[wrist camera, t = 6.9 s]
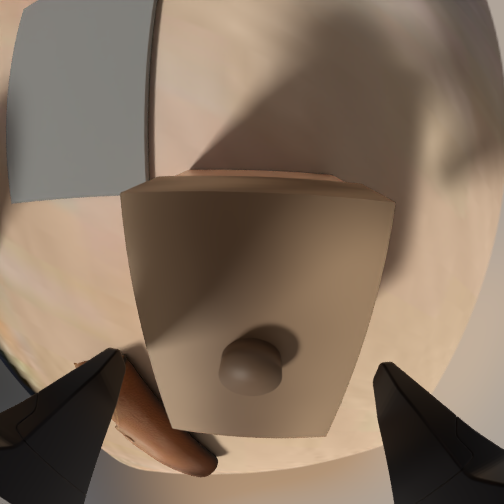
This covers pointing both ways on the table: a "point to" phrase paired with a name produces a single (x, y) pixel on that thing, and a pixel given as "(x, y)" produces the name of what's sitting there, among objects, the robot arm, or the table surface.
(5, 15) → the table surface
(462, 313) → the table surface
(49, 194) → the mat
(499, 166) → the table surface
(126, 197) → the lid
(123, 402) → the sunglasses case
